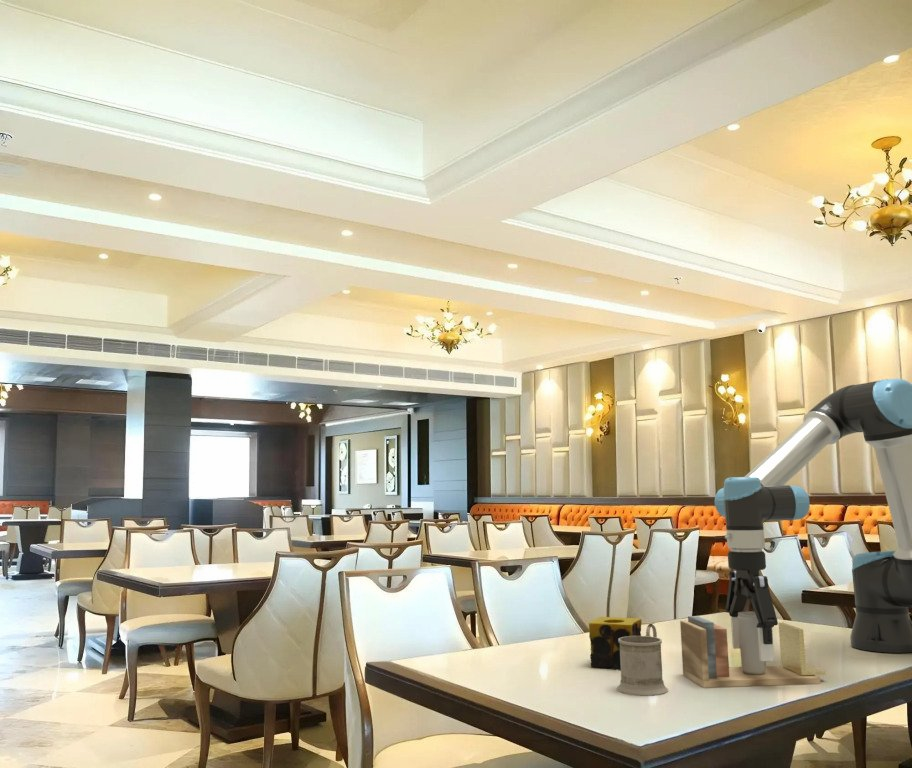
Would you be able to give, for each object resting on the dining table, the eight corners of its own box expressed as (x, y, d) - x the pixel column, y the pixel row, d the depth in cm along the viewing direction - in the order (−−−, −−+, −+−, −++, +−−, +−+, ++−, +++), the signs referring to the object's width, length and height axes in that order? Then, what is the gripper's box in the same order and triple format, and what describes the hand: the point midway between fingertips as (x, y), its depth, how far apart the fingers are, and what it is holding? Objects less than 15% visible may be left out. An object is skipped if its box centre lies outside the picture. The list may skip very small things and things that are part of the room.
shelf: (792, 671, 177) (788, 612, 178) (820, 683, 165) (815, 621, 166) (683, 674, 175) (679, 615, 177) (703, 687, 163) (699, 624, 165)
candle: (645, 662, 189) (643, 618, 190) (635, 671, 180) (633, 624, 181) (601, 659, 193) (599, 616, 194) (589, 668, 184) (588, 622, 185)
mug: (658, 698, 156) (655, 632, 157) (609, 692, 161) (606, 629, 163) (681, 682, 168) (678, 622, 170) (635, 677, 173) (632, 619, 175)
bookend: (804, 665, 175) (801, 622, 177) (825, 674, 167) (822, 628, 168) (781, 666, 175) (778, 622, 176) (801, 675, 166) (798, 629, 167)
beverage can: (754, 676, 167) (749, 616, 168) (736, 671, 171) (732, 613, 172) (771, 672, 169) (766, 613, 170) (753, 668, 173) (748, 610, 175)
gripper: (707, 547, 186) (712, 644, 183) (753, 554, 161) (761, 667, 158) (739, 546, 186) (745, 643, 183) (790, 553, 161) (798, 665, 159)
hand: (752, 654), depth 171 cm, fingers open, 13 cm apart
